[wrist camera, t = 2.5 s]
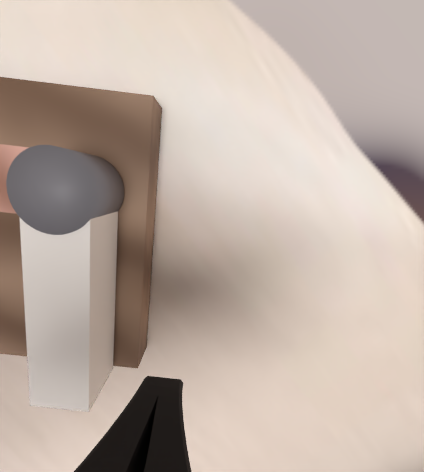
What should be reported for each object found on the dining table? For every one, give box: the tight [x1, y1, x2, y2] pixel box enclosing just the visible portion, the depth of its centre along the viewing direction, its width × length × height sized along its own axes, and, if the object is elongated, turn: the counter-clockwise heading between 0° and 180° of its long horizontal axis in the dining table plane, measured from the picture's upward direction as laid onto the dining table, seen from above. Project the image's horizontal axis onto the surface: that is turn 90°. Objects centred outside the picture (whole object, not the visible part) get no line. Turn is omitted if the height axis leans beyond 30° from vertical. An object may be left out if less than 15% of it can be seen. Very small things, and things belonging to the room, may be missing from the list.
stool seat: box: [0, 77, 162, 368], centre depth 15 cm, size 16×16×2 cm
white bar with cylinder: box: [6, 145, 124, 412], centre depth 12 cm, size 13×4×3 cm, turn 173°
